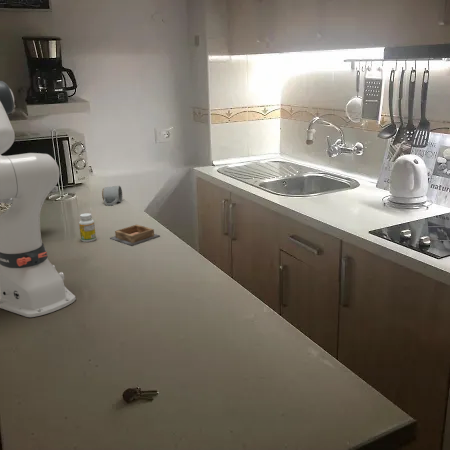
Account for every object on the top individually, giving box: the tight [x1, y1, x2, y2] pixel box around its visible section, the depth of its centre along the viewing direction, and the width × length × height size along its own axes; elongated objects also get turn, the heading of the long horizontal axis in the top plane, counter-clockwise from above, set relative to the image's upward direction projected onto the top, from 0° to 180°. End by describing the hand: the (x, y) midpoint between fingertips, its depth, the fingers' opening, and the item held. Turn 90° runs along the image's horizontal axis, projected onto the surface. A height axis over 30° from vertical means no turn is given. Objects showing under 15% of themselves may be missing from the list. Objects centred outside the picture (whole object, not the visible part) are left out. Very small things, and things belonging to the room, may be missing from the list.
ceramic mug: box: [101, 185, 123, 206], centre depth 238 cm, size 11×8×8 cm
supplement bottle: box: [78, 212, 97, 243], centre depth 187 cm, size 5×5×10 cm
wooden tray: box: [109, 224, 161, 247], centre depth 189 cm, size 13×13×3 cm
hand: (51, 192), depth 185 cm, fingers open, 8 cm apart
